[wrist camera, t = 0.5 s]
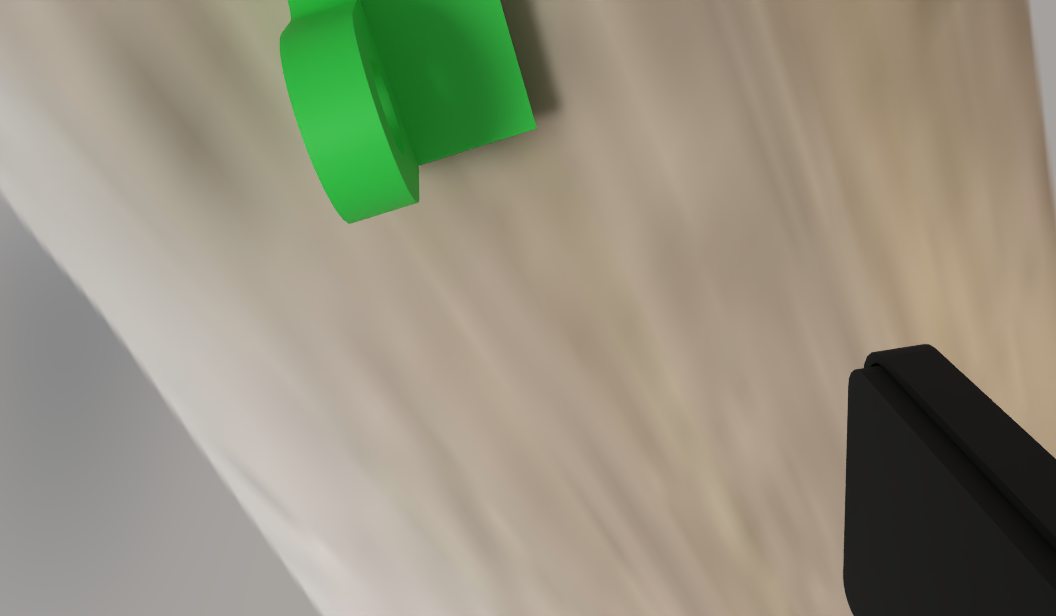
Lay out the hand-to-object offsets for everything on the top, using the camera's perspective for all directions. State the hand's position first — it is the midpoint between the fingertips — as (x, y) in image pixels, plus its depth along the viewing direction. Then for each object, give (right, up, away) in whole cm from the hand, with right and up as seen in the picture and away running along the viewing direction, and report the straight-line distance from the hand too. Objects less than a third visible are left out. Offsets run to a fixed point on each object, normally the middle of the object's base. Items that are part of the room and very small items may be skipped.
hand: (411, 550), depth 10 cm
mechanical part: (-3, +13, +21) cm, 25 cm away
